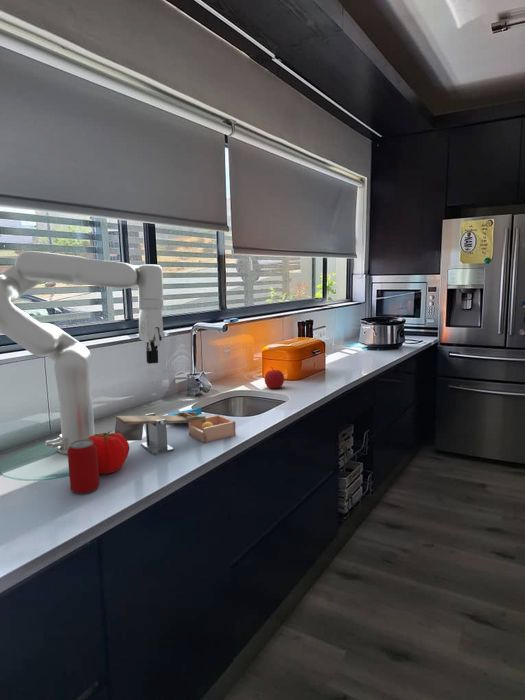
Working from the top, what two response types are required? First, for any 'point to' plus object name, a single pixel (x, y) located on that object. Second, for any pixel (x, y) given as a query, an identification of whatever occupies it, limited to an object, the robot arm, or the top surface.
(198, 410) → the blue wedge block
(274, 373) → the apple
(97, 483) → the beverage can
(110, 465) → the tomato
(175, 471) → the top surface
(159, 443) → the fulcrum
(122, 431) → the lever
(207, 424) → the ball
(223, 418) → the dish
